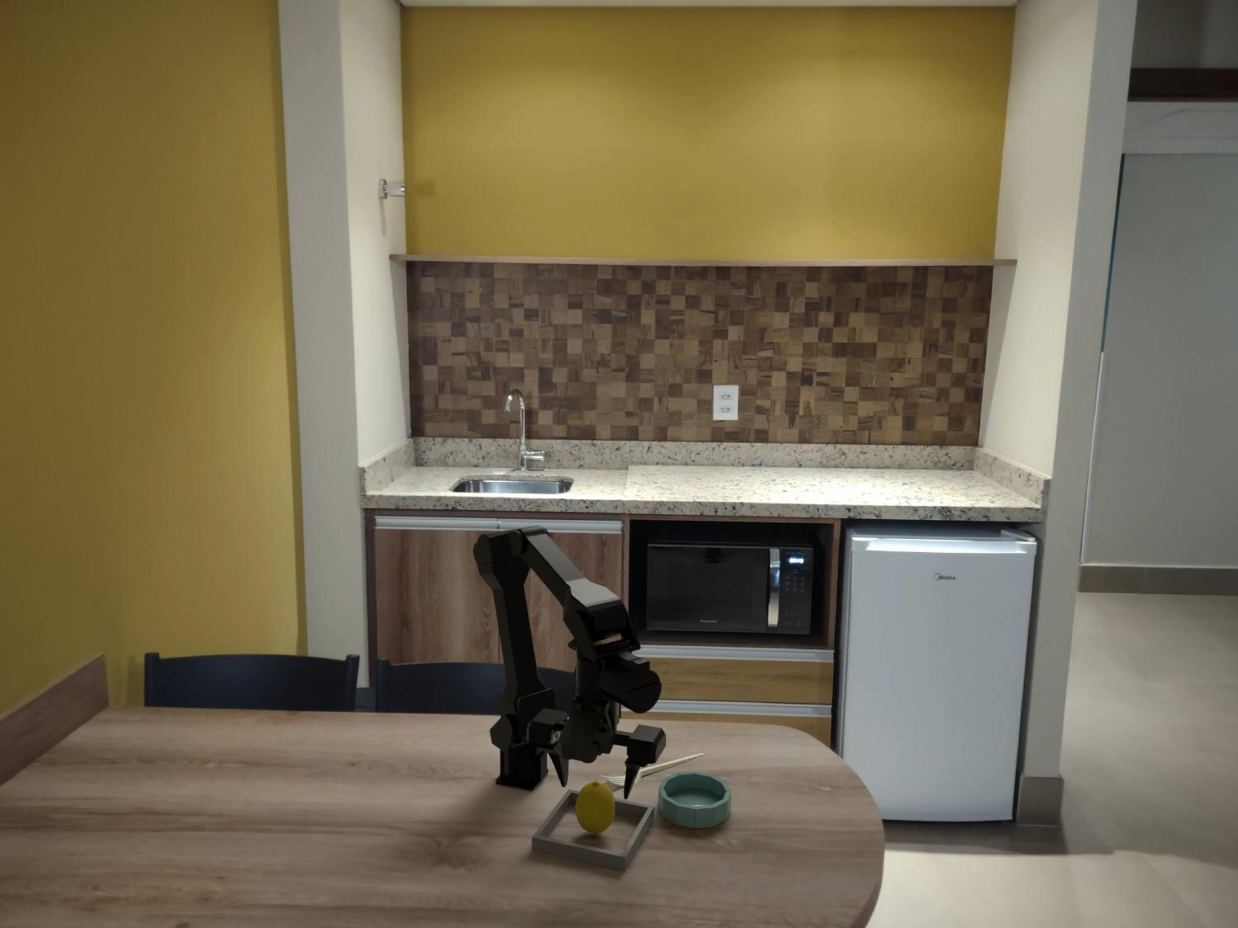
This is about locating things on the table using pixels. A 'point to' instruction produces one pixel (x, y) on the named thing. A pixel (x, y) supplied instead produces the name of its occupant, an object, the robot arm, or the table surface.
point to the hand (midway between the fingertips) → (595, 791)
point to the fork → (650, 770)
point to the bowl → (694, 799)
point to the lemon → (595, 807)
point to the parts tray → (586, 852)
